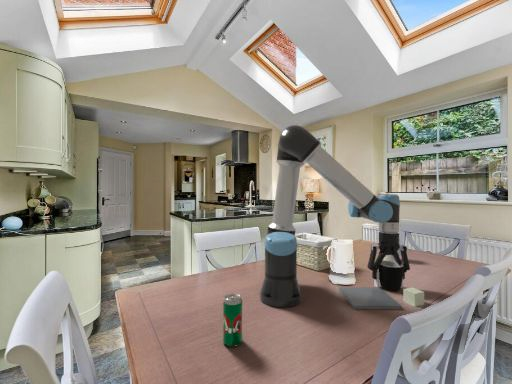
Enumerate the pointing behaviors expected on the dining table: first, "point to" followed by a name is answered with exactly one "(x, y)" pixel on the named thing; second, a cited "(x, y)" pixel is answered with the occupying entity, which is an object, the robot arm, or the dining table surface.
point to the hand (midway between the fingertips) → (388, 286)
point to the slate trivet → (369, 298)
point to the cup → (390, 257)
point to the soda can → (232, 319)
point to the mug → (390, 275)
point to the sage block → (413, 296)
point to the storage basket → (313, 250)
